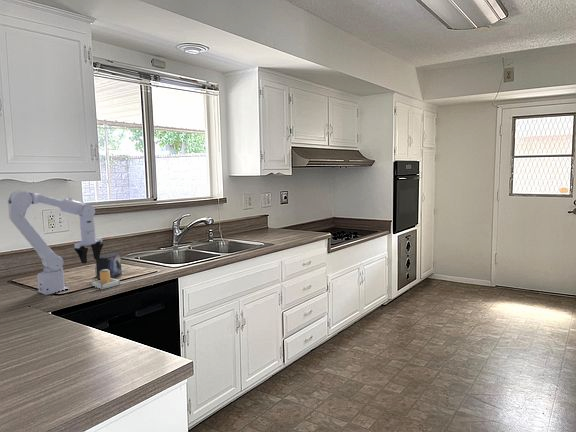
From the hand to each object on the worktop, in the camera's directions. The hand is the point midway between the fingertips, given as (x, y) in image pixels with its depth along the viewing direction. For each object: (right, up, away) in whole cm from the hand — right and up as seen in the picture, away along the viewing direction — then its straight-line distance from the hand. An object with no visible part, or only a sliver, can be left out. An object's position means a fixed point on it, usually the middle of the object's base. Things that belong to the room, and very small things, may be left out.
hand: (90, 261), depth 193 cm
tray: (+8, -10, -4) cm, 14 cm away
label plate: (-1, -8, +14) cm, 16 cm away
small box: (+4, -9, +11) cm, 14 cm away
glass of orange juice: (+8, -10, -4) cm, 13 cm away
